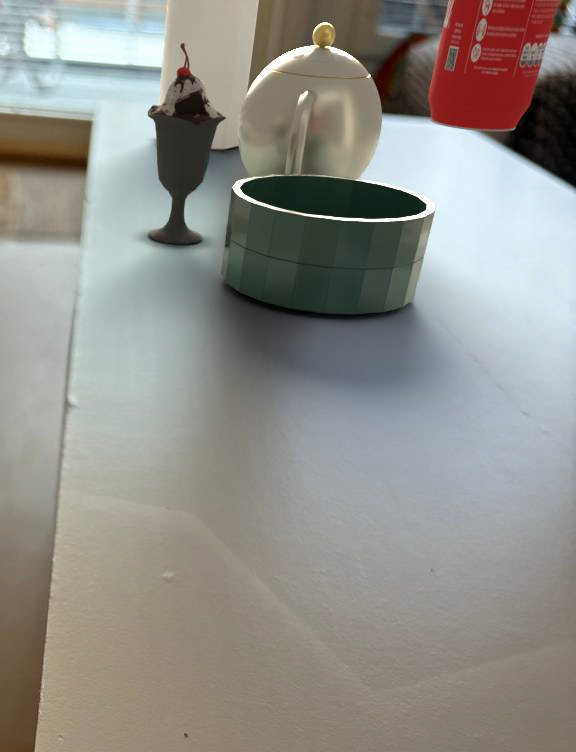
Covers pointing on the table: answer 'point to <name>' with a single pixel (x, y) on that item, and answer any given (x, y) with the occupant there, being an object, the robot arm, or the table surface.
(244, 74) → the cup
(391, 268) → the green planter pot
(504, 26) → the beverage can
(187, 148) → the sundae
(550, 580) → the table surface
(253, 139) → the teapot
